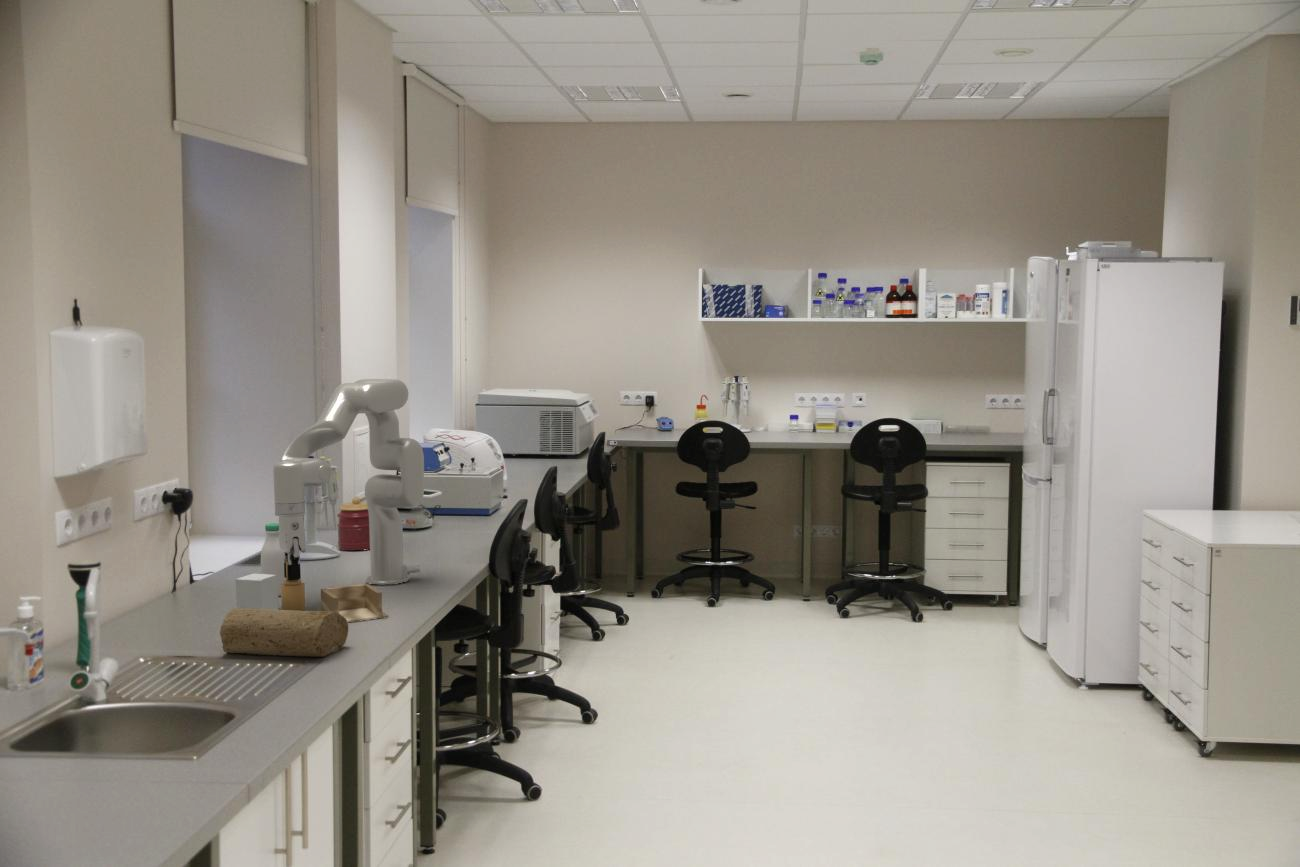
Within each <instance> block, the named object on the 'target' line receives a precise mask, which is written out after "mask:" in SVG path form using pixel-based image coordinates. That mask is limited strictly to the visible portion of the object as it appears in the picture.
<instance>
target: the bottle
mask: <svg viewBox="0 0 1300 867" xmlns="http://www.w3.org/2000/svg"><path fill="white" fill-rule="evenodd" d="M292 556H293V555H291V557H292ZM285 561H286V577H287V580H285V581H284V584H281V596H280V599H281V600H280V601H281V602H280V604H281V610H298V611H307V610H306V586H305V585H306V583H305V582H302V579H299V580H288V572H287V565H289V564H288V555H287V556H285Z"/></svg>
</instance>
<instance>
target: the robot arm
mask: <svg viewBox="0 0 1300 867" xmlns="http://www.w3.org/2000/svg"><path fill="white" fill-rule="evenodd" d="M408 400H409V389H408V387H407V385H406V383H404V381H402V380H401V379H395V378H394V379H393V378H391V379H387V378H386V379H385V378H384V379H379V378H364V379H359V380H356V381H354V382H347V383H346V382H345V383H341V384H340V385H338V386H337V387H336V388H335V389H334V391H333V392H332V395H331V396H330V397H329V400H328V402H327V403H326V406H325V407H324V409H323V410H322V412H321V414H320V415H319V418H318V419H317V421H316V422H315V424H313V425H311V426H310V427H308V428H307V429H305V430H304V431H303V432H302V433H300V434H299V435H298V436H296V437H294V439H293V440H292V441H291V442H290V443H289V444H288V445H287V446H286V449H285V450H284V452H283V454H282V455H281V458H280V460H279V462H276V463H275V464H274V466H273V489H274V491H273V494H274V516H276V517H278V523H279V543H280V548H281V549H282V550H283V551H284V562H286V561H285V556H287V555H288V564H289V565H287V572H288V580H299V579H301V578H302V576H301V575H302V574H301V557H300V556H301V555H300V552H301V553H305V552H306V551H307V543H306V531H305V530H306V529H305V522H304V521H305V520H304V516H303V515H306V499H305V488H307V487H310V488H311V487H314V488H315V487H321V486H324V485H325V484H326V483H328V482H329V480H330V479H331V476H332V469H331V466H330V464H329V463H328V462H327V461H326V460H324V459H321V458H317V457H316V458H313V457H310V456H311V455H312V454H314V453H316V452H317V451H319V450H321V449H325V448H327V447H330V446H332V445H335V444H337V443H339V442H341V441H342V440H344V439H345V438H346V436H347V435H348V432H349V430H350V429H351V427H352V424H353V422H354V421H355V419H356V418H357V416H358V414H365V416H366V418H367V420H368V427H369V428H368V430H369V432H368V434H369V460H370V464H371V465H372V467H373V468H374V469H377V470H383V471H400V474H385V473H384V474H376V475H373V476H371V477H370V478H368V480H367V481H366V482H365V484H364V496H365V502H367V506H368V512H369V529H370V530H369V531H370V551H369V552H370V553H369V556H370V557H369V558H370V560H369V561H370V575H369V576H367V577H366V578H365V583H366V582H367V583H371V584H395V585H397V584H396V583H401V584H403V583H402V582H405V581H407V582H409V581H410V575H411V573H415V574H416V573H420V572H421V568H420V566H419V565H416V566H415V565H414V566H413V565H406V564H405V562H404V532H403V528H404V527H403V520H402V516H401V514H400V512H399V510H398V509H416V508H417V507H419V506H420V504H421V503H422V502H423V499H424V495H425V494H424V493H425V457H424V456H425V455H424V451H423V448H422V445H421V443H420V442H419V441H418V440H416V439H414V438H410V437H409V438H408V437H401V436H400V423H399V418H398V414H396V410H397V411H398V410H400V409H401V408H403V407H405V405H406V403H407V401H408ZM291 555H293V556H292V557H291ZM284 577H285V578H287V577H286V563H284ZM301 580H302V579H301ZM408 580H409V581H408ZM367 583H366V584H367ZM405 583H406V582H405ZM371 584H370V585H371Z"/></svg>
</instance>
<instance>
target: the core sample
mask: <svg viewBox="0 0 1300 867" xmlns="http://www.w3.org/2000/svg"><path fill="white" fill-rule="evenodd" d="M348 634H349V623H348V622H347V620H346V618H345V617H344V616H342V615H340V614H339V613H337V612H327V611H322V610H306V611H298V610H282V609H279V610H270V609H246V608H237V607H235V608H232V609H231V610H230V611H228V612H227V614H226V615H225V616H224V618H223V620H222V623H221V625H220V631H219V635H220V638H221V643H222V650H223V652H224V653H226V652H229V653H228V654H235V653H247V654H246V655H256V654H258V655H259V656H277V655H279V657H281V656H282V657H283V656H284V657H315V658H316V657H323V658H324V657H327V656H329V655H332V654H334V653H337V652H338V651H339V650H340V649H342V648H343V646H344V645H345V644H346V641H347V638H348Z"/></svg>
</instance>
